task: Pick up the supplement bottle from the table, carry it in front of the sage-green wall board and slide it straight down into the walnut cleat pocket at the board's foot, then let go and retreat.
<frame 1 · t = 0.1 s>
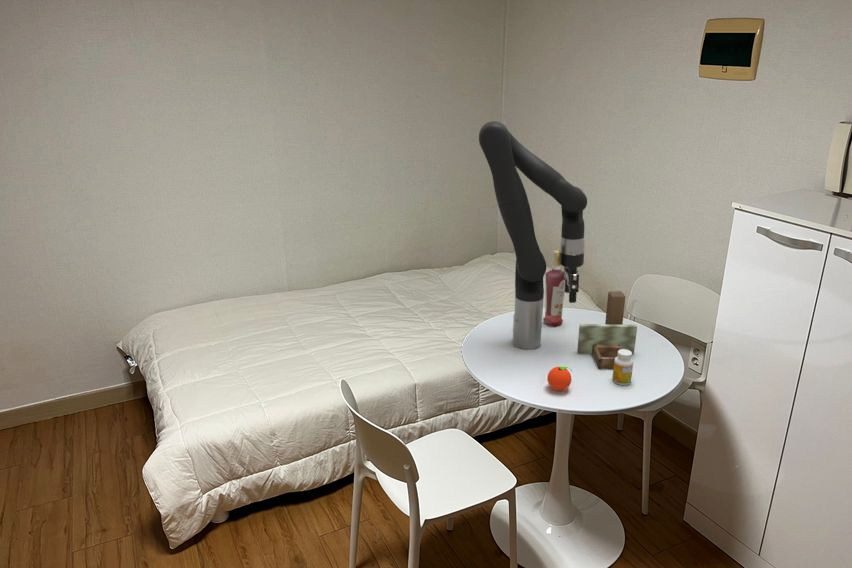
hand: (570, 297, 202), 17 cm above the table, tool pointing down, fingers open, 8 cm apart
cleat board: (607, 357, 200), on the table
supplement bottle: (621, 381, 186), on the table
wooden block: (618, 343, 210), on the table
clementine: (559, 389, 182), on the table
liquor: (552, 323, 225), on the table
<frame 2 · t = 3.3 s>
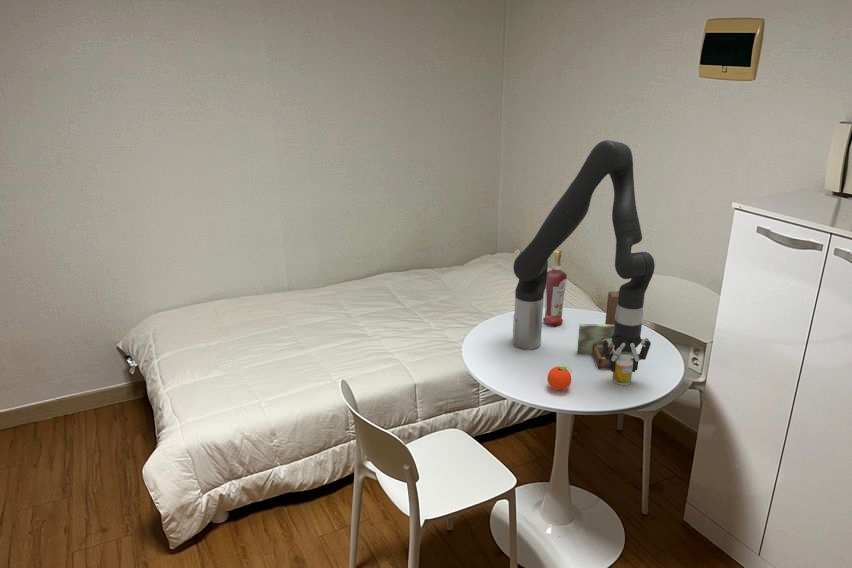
hand: (622, 370, 184), 4 cm above the table, tool pointing down, fingers closed on supplement bottle, 5 cm apart
supplement bottle: (621, 381, 186), on the table, touching gripper
everything else where it was.
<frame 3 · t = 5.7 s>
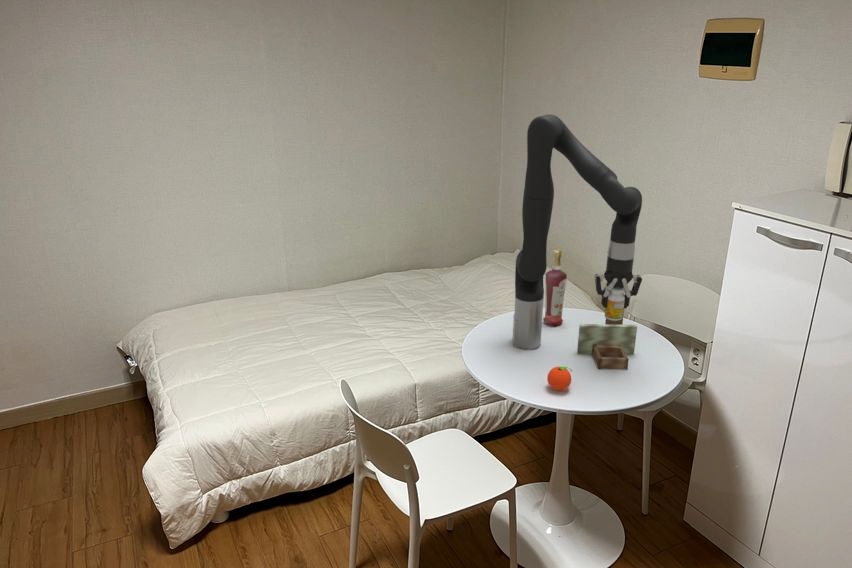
hand: (614, 307, 190), 19 cm above the table, tool pointing down, fingers closed on supplement bottle, 5 cm apart
supplement bottle: (613, 318, 191), point 15 cm above the table, touching gripper
everything else where it was.
when the fingers open (5 cm above the table, at t = 8.4 s): supplement bottle drops 1 cm, resting in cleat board.
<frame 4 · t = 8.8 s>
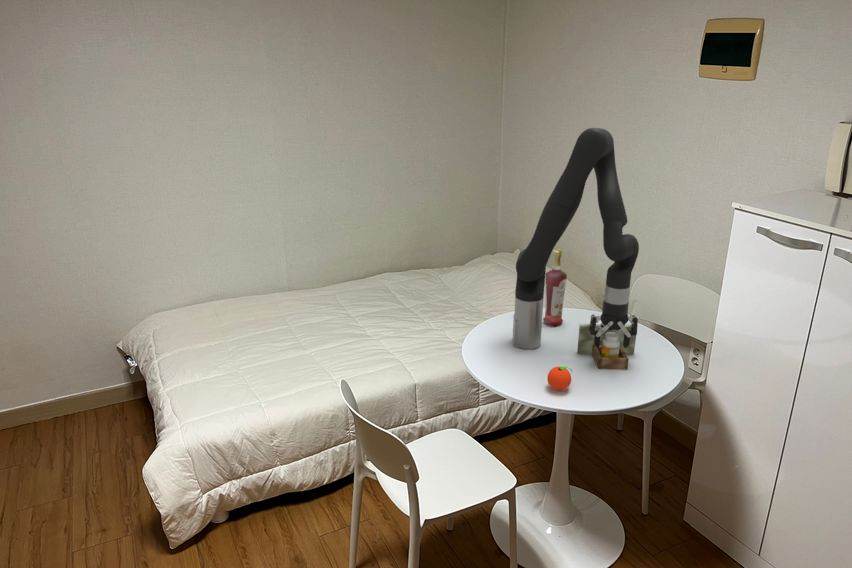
hand: (611, 346, 195), 6 cm above the table, tool pointing down, fingers open, 8 cm apart
supplement bottle: (608, 362, 197), resting in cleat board
everything else where it was.
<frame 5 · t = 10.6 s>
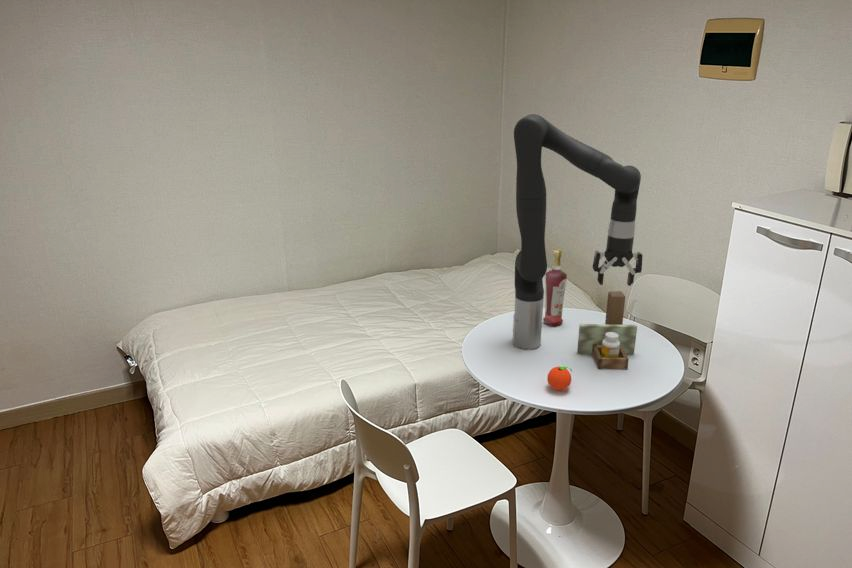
hand: (614, 284, 191), 25 cm above the table, tool pointing down, fingers open, 8 cm apart
nothing on the table moved.
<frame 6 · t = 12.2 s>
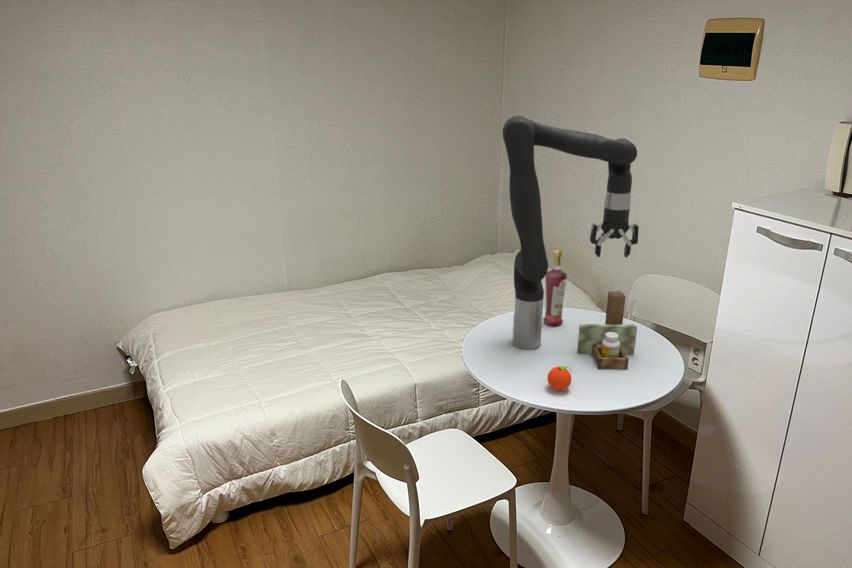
hand: (612, 256, 195), 32 cm above the table, tool pointing down, fingers open, 8 cm apart
nothing on the table moved.
at the end: supplement bottle inside the target area on the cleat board (0.2 cm from its centre), point 0.0 cm above the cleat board's base; supplement bottle tilted 0°; the gripper is holding nothing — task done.
